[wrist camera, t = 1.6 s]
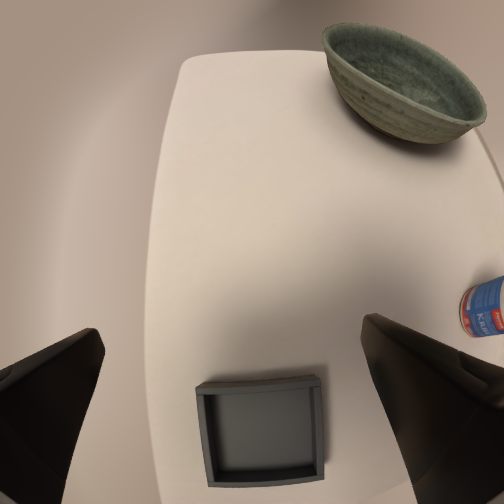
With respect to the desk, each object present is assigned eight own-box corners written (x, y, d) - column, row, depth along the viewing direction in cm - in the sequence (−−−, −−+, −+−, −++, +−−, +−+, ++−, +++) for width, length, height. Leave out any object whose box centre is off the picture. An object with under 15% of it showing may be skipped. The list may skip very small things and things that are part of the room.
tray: (318, 467, 17) (324, 479, 15) (213, 474, 18) (208, 487, 15) (314, 374, 20) (320, 378, 18) (202, 382, 20) (195, 387, 18)
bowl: (329, 173, 26) (352, 100, 17) (302, 65, 33) (307, 10, 23) (472, 186, 25) (514, 142, 16) (420, 83, 32) (438, 40, 23)
